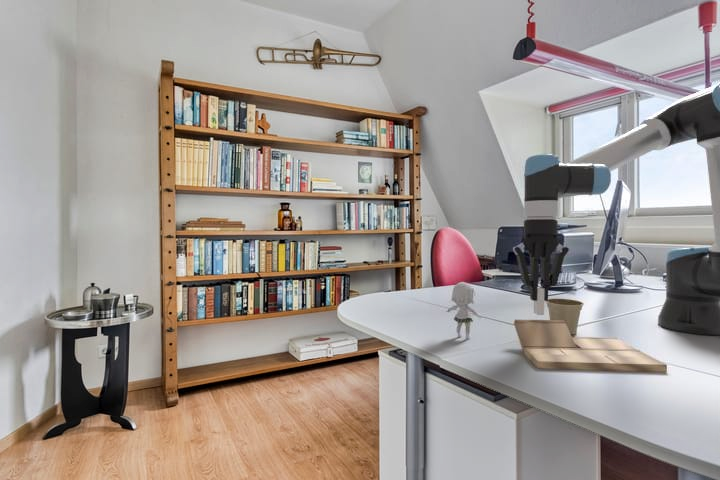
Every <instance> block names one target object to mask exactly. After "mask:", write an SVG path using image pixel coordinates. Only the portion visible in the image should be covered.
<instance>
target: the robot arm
mask: <svg viewBox="0 0 720 480" xmlns="http://www.w3.org/2000/svg"><path fill="white" fill-rule="evenodd" d="M692 140H696V144H697V145H698V146H700V147H701V148H704V150H705V153H706V162H707V174H708V184H709V191H710V201H711V211H712V221H713V231H714V240H715V241H714V243H713V244H712V245H711V246H709V247H708V246H705V247H702V246H701V247H685V248H675V249H674V248H673V249H671V250H669V251H668V252H667V256H666V262H665V264H666V265H665V267H666V271H665V272H666V278H665V281H666V283H665V286H666V287H665V290H666V291H665V301H664V303H663V305H662V307H661V310H660V312H659V314H658V317H657V325H659V326H660V327H663V328H666V329H669V330H673V331H677V332H682V333H688V334H694V335H695V334H696V335H703V336H705V335H706V336H720V82H719V83H718V84H715V85H713V86H711V87H708V88H705V89H703V90H701V91H698V92H696V93H693V94H690V95H688V96H685V97H683V98H680V99H679V100H677V101H675V102H673V103H672V104H671V105H669V106H667V107H665V108H663V109H661V110H660V111H659V112H657V113H654V114H653V115H652V116H651V115H650V116H649V117H648V118H646V119H644V120H643V121H642V122H641V123H640V125H639V126H638V127H636V128H634V129H632V130H630V131H628V132H626V133H625V134H622V135H620V136H618V137H617V138H614V139H612V140H611V141H609V142H607V143H604V144H603V145H601V146H599V147H597V148H594V149H593V150H591V151H589V152H587V153H585V154H583V155H581V156H579V157H577V158H575V159H573V160H571V161H569V162H567V163H561V162H560V158H559V157H560V156H558V155H557V154H551V153H544V154H535V155H532V156H529V157H527V159H526V160H525V165H524V174H523V177H524V199H523V201H524V202H523V204H524V205H523V206H524V207H523V217H524V218H526V219H525V220H524V221H523V237H522V240H521V243H519V244H518V245H516V246H512V247H511V249H512V252H513V253H514V255H515V256H516V262H517V264H518V269H519V274H520V277H521V282H522V284H524V285H526V286H529V292H530V293H529V294H530V295H529V297H530V298H529V299H530V300H531V301H533V313H534V314H536V315H537V316H544V315H545V301H547V300H548V299H549V289H550V288H551V287H554V286H557V285H558V281H559V278H560V273H561V270H562V267H563V264H564V263H563V262H564V259H565V256H566V255H567V254H568V253H569V251H570V250H569V249H570V248H569V247H568V246H564V245H562V244H561V243H560V240H559V238H558V220H557V219H556V218H557V217H559V212H558V211H559V199H562V198H568V197H577V196H593V195H594V196H595V195H602V194H604V193H606V192H607V190H608V189H609V188H610V185H611V182H612V180H611V179H612V173H611V172H612V171H614V170H616V169H618V168H620V167H623V166H624V165H626V164H629V163H630V162H633V161H634V160H636V159H639V158H640V157H642V156H645V155H646V154H648V153H650V152H652V151H662V150H664V149H666V148H668V147H670V146H674V145H677V144H679V143H680V144H681V143H684V142H688V141H692ZM525 250H526V252H527V253H528V254H529V256H528V257H529V270H528V264H527V261H526V256H525ZM554 252H555V255H554V257H553V261H552V265H551V269H550V261H551V257H552V256H551V255H552V254H553V253H554ZM539 263H540V264H539ZM539 266H540V277H539ZM539 279H540V280H539ZM539 281H540V282H539ZM539 284H540V286H539Z"/></svg>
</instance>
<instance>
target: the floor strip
mask: <svg viewBox="0 0 720 480" xmlns="http://www.w3.org/2000/svg"><path fill="white" fill-rule="evenodd" d="M523 355H524V356H525V357H526V358H527V359H528V360H529V361H530V362H532V365H533V364H534V366H535V367H536V368H537V369H548V370H549V369H550V370H552V369H555V370H580V371H581V370H582V371H583V370H584V371H588V370H589V371H618V372H649V373H650V372H653V373H654V372H655V373H656V372H657V373H668V365H667V364H666V363H665V362H663V361H660V360H659V359H656V358H654V357H652V356H651V355H649V354H647V353H645V352H643V351H641V350H640V349H636V350H623V349H582V348H540V347H524V350H523Z"/></svg>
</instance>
